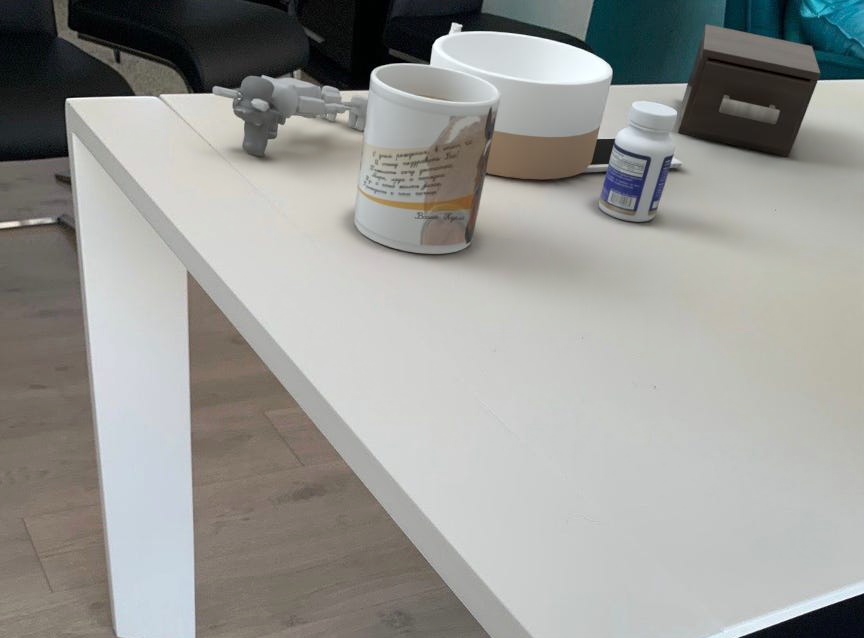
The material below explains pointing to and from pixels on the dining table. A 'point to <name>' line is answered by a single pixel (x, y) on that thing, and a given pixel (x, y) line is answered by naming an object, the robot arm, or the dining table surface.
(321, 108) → the figurine
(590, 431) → the dining table surface
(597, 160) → the cell phone
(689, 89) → the cabinet
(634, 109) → the pill bottle
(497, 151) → the bowl
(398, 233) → the mug
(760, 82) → the drawer
